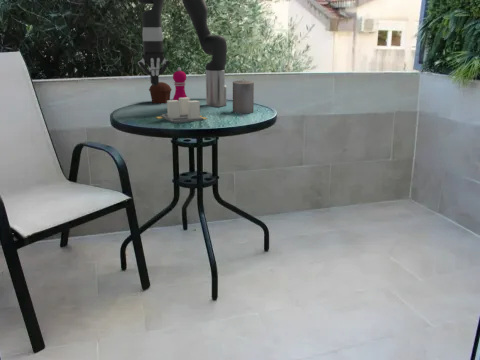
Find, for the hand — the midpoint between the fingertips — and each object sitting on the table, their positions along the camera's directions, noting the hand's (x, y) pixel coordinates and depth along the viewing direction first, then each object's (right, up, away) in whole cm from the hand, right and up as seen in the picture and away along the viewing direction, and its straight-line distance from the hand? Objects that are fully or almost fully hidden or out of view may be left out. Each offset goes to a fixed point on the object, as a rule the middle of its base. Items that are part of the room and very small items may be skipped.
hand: (154, 85), depth 183 cm
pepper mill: (+7, -7, +28) cm, 30 cm away
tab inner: (+10, -10, +15) cm, 21 cm away
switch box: (+9, -13, +10) cm, 19 cm away
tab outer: (+15, -13, +7) cm, 21 cm away
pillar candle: (+35, -6, +30) cm, 47 cm away
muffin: (-7, +2, +54) cm, 54 cm away
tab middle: (+6, -12, +8) cm, 16 cm away
